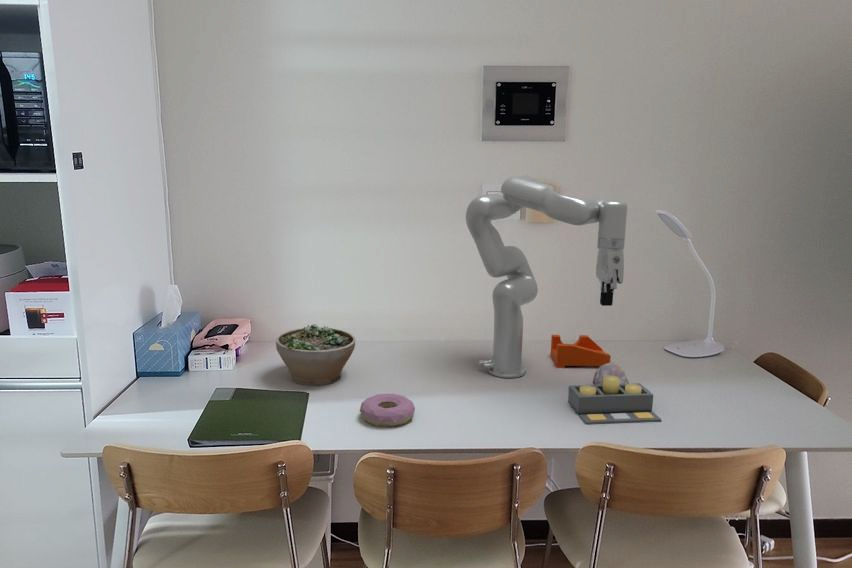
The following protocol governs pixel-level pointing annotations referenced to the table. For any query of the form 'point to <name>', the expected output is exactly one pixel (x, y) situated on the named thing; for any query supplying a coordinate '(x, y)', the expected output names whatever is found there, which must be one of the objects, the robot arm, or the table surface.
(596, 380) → the stone
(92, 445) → the table surface
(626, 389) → the button right
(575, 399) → the grey compartment tray
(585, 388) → the button left
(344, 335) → the planter
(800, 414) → the table surface
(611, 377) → the button mid
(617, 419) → the strip
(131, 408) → the table surface
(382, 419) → the donut
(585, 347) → the tape dispenser
